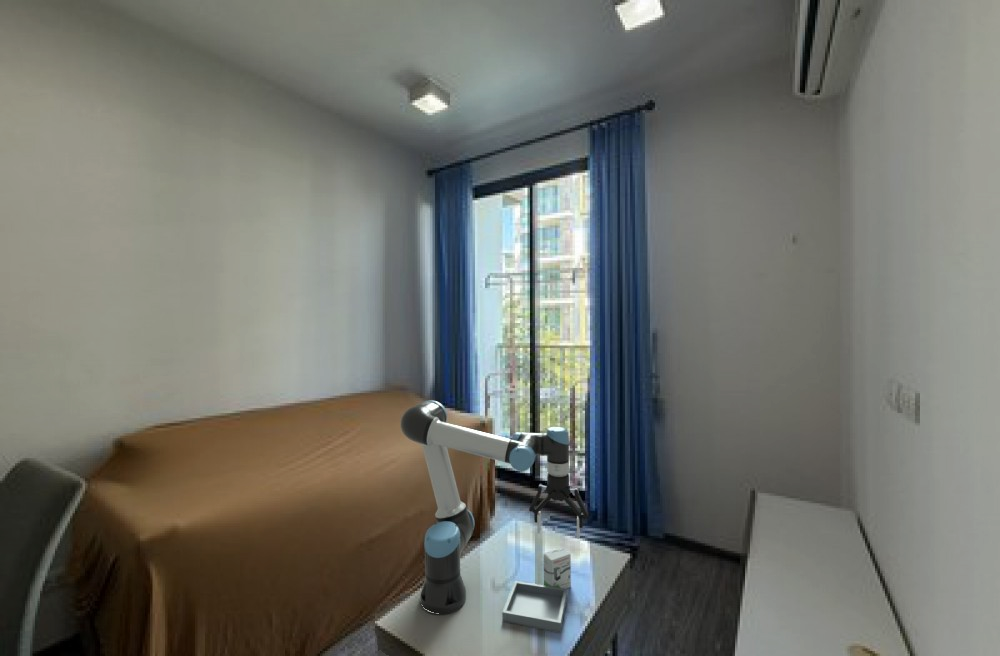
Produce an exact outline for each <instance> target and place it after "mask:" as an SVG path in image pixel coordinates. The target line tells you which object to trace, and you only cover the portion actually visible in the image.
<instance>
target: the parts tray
mask: <svg viewBox="0 0 1000 656" xmlns="http://www.w3.org/2000/svg"><path fill="white" fill-rule="evenodd" d="M567 601H568V588H567V589H563V588H557V587H551V586H544V584H536V583H532V582H524V581H519V580H514V582H513V585H512V586H511V589H510V592H509V594H508V597H507V600H506V602H505V604H504V607H503V609H502V612H501V614H502V617H501V618H502V623H507V624H512V625H517V626H523V627H528V628H532V629H539V630H544V631H549V632H553V633H559V634H562V631H563V630H562V629H563V624H564V620H565V619H564V618H565V612H566V607H567Z"/></svg>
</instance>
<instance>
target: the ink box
mask: <svg viewBox="0 0 1000 656" xmlns="http://www.w3.org/2000/svg"><path fill="white" fill-rule="evenodd" d="M571 559H572V558H571V553H570V552H569V551H567V550H566V549H565V548H564V547H559V548H556V549H552V550H549V551H546V552H544V553H543V585H544V586H551V587H557V588H563V589H567V590H568V589H570V588H571V587H572V575H571V574H572V572H571V570H572V568H571V567H572V566H571V564H572V563H571V562H572V561H571Z"/></svg>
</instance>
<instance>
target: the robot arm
mask: <svg viewBox="0 0 1000 656" xmlns="http://www.w3.org/2000/svg"><path fill="white" fill-rule="evenodd" d="M447 412H448V411H447V409H446V408H445V406H444V405H443V403H440V402H439V401H436V400H433V399H431V400H430V399H429V400H425V401H421V402H419V403H418V404H416V405H414V406H412V407H409V408H408V409H407V410H406V411H405V412H404V413H403V415H402V416H401V419H400V429H401V432H402V433H403V435H404V436H405V437H406V438H407V439H409V440H410V441H412V442H415V443H416V444H419V445H420V446H422V451H423V456H424V458H425V462H426V466H427V470H428V471H427V472H428V475H429V478H430V482H431V486H432V491H433V494H434V498H435V502H436V505H437V510H436V512H435V514H434V516H435V520H436V523H435V524H432V525H431V526H430V527H429V528H428V529H427V530H426V532H425V535H424V543H423V544H424V545H423V547H424V572H425V573H424V574H425V578H424V582H423V584H422V588H421V592H420V595H419V597H420V600H421V603H420V605H421V604H422V605H423V607H424V608H425V609H427V610H429V611H431V612H434V613H439V614H442V615H447V614H451V613H453V612H456V611H457V610H459V609H460V608H462V607H463V605H464V604H465V602H466V599H467V590H466V586H465V583H464V580H463V577H462V575H461V554H462V552H463V551H464V549H465V547H466V545H467V544H468V542H469V541H470V539H471V537H472V536H473V533H474V529H475V525H476V524H475V523H476V522H475V519H474V516H473V514H472V512H471V511H470V510H469V509H468V507H467V505H466V503H465V502H463V501H461V498H460V493H459V490H458V486H457V482H456V477H455V474H454V470H453V467H452V462H451V459H450V455H449V451H448V448H449V449H453V450H456V451H460V452H464V453H468V454H472V455H476V456H480V457H483V458H487V459H491V460H495V461H498V462H501V463H502V462H503V463H506V464H509V465H510V466H511V467H512V468H513V469H514V470H515V471H518V472H525V471H527V470H529V469H530V468H531V467H532V466H533V465H534V462H535V461H536V457H537V456H546V457H547V458H546V463H547V464H546V465H547V466H546V472H547V474H546V476H547V477H546V480H547V482H546V483H547V484H546V485H543V484H542V483H539V485H538V488H537V493H536V495H535V497H534V498H533V501H532V502H531V505H530V506H529V509H528V511H529V512H532V513H533V516H534V517H533V518H534V519H533V520H534V523H536V524H537V533H536V534H541V531H542V523H541V522H542V515H541V514H542V513H541V510H542V509H543V508H544V506H546V505H547V503H548V502H550V500H551V499H552V500H553V501H555V502H557V501H559V502H563V501H564V502H565V503H566V504H567V505H568V506H569V507H570V509H571V510H572V511H573V512H574V514H575V515H576V539H578V540H580V537H581V536H580V535H581V531H580V529H583V527H584V519H588V518H589V511H588V509H587V507H586V505H585V503H584V501H583V499H582V496H581V495H580V492H579V487H577V486H576V487H574V488H570V474H569V473H570V439H569V431H568V430H567V429H566V428H565V427H562V426H551V427H549V428H547V430H546V432H544V433H543V432H525V431H521V432H517V431H516V432H515V433H513V436H512V439H511V438H507V437H504V436H500V435H496V434H491V433H488V432H483V431H480V430H476V429H472V428H469V427H464V426H460V425H456V424H452V423H448V422H447V419H448V413H447ZM544 491H546V492H547V495H546V496H545V498H543V500H542V501H541V502H540V503H539V504H538V505H537V506H536V504H537V503H538V501H539V499H540V496H541V494H542V493H544ZM571 493H572V495H573V496H574V498H575V501H576V502H577V504H578V506H577V504H576V502H574V501H573V499H572V497H571V496H570V494H571ZM420 600H419V601H420Z"/></svg>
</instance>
